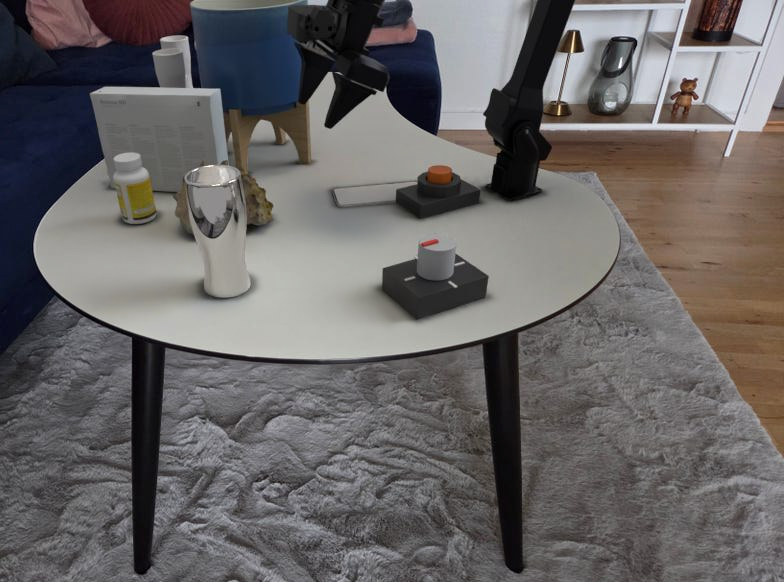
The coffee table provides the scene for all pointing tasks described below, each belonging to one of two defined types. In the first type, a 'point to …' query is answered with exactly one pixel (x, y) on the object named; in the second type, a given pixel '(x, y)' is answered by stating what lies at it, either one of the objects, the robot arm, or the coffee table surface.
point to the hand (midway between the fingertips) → (313, 115)
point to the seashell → (254, 199)
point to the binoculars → (173, 63)
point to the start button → (439, 174)
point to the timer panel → (433, 287)
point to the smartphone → (368, 194)
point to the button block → (437, 196)
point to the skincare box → (161, 130)
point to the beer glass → (219, 227)
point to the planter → (252, 70)
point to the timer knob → (436, 256)
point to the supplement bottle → (133, 189)
